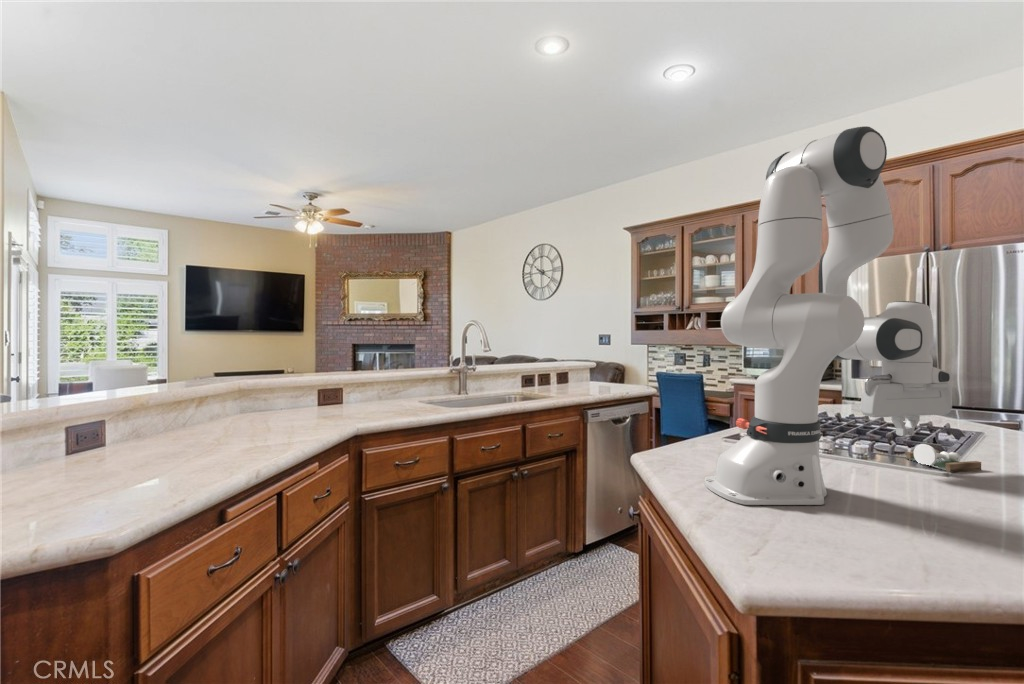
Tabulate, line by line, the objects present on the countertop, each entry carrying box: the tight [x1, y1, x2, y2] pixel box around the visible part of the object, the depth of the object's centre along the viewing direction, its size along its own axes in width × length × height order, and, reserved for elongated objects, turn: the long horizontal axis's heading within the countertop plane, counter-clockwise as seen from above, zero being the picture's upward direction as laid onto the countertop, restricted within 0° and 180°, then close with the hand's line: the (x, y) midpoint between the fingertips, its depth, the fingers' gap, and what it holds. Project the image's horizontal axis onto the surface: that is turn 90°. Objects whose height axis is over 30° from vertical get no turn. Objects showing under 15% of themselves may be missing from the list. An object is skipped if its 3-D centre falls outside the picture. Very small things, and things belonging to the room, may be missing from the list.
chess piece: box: [913, 443, 963, 467], centre depth 111 cm, size 5×5×10 cm
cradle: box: [905, 449, 982, 473], centre depth 111 cm, size 8×10×2 cm
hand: (904, 435), depth 109 cm, fingers closed
